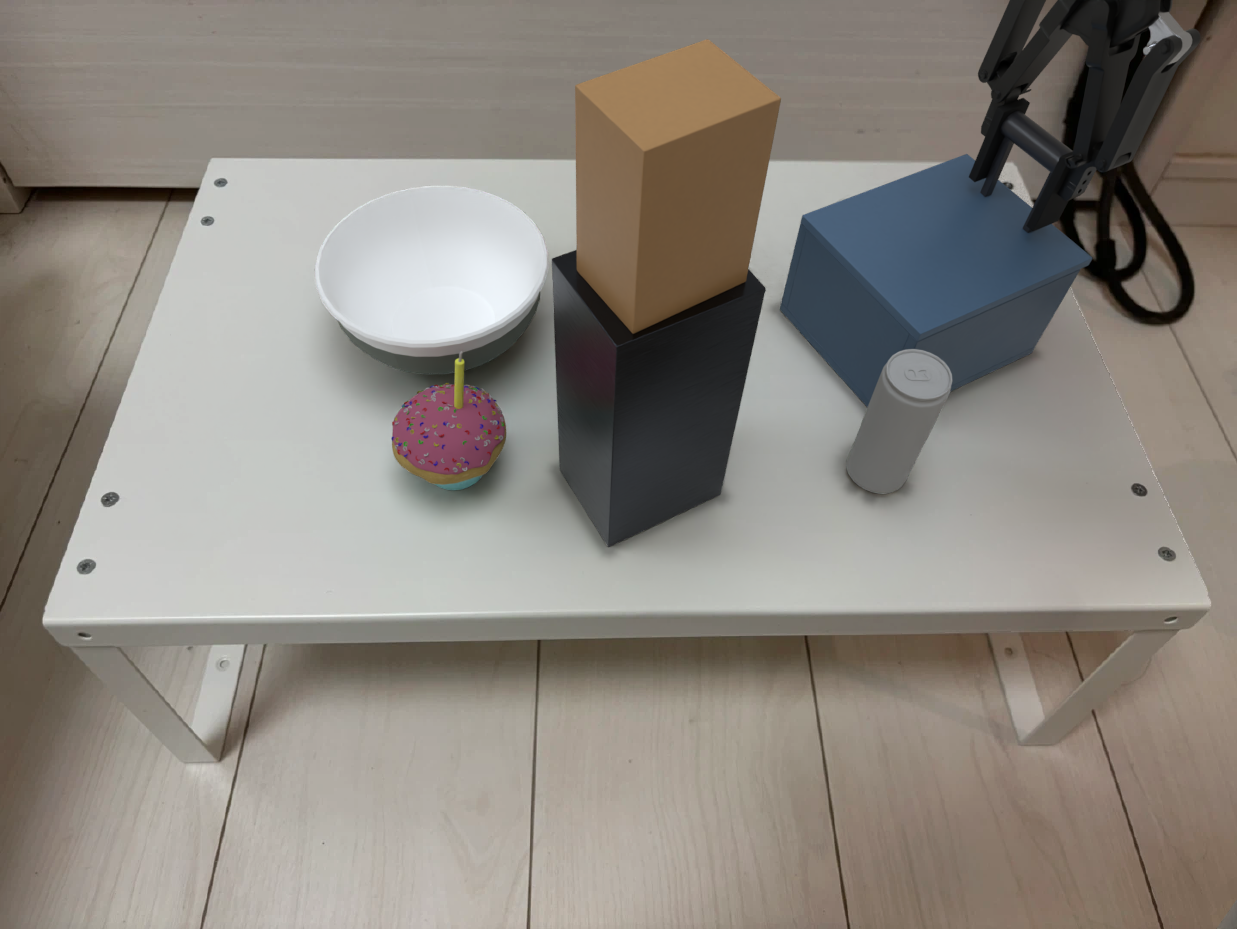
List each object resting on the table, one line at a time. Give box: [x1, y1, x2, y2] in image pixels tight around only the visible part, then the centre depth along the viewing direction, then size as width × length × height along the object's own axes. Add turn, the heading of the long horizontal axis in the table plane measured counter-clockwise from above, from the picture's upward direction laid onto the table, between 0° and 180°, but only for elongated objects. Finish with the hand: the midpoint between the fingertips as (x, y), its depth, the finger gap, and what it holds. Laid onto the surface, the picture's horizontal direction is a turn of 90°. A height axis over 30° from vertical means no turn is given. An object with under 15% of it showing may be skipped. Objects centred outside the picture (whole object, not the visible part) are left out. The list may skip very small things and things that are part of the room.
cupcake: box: [391, 351, 507, 491], centre depth 68 cm, size 9×8×12 cm
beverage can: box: [845, 349, 952, 495], centre depth 69 cm, size 5×5×12 cm
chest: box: [779, 222, 1081, 408], centre depth 79 cm, size 17×15×10 cm
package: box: [574, 38, 782, 334], centre depth 49 cm, size 6×8×12 cm
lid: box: [800, 111, 1094, 341], centre depth 71 cm, size 18×15×8 cm
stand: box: [551, 249, 767, 548], centre depth 63 cm, size 8×10×22 cm
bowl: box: [313, 185, 550, 375], centre depth 78 cm, size 19×19×8 cm
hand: (1012, 198), depth 75 cm, fingers closed on lid, 6 cm apart
